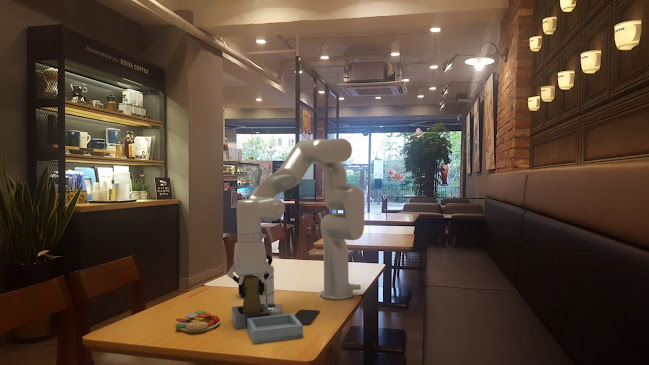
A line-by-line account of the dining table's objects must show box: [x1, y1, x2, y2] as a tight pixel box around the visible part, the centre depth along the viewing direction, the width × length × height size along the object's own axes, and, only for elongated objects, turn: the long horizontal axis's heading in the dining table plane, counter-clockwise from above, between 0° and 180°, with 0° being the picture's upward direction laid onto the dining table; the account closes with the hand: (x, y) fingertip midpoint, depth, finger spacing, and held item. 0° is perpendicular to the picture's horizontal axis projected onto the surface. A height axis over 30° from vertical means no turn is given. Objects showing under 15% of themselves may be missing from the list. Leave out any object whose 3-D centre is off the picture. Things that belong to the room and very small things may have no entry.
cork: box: [242, 275, 262, 313], centre depth 139 cm, size 6×6×11 cm
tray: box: [246, 313, 304, 345], centre depth 128 cm, size 14×12×4 cm
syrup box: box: [254, 265, 275, 305], centre depth 155 cm, size 6×6×14 cm
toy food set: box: [175, 310, 221, 334], centre depth 136 cm, size 13×13×3 cm
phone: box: [294, 309, 321, 327], centre depth 143 cm, size 7×1×15 cm
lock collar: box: [231, 302, 283, 330], centre depth 142 cm, size 17×15×4 cm
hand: (251, 294), depth 139 cm, fingers closed on cork, 5 cm apart
